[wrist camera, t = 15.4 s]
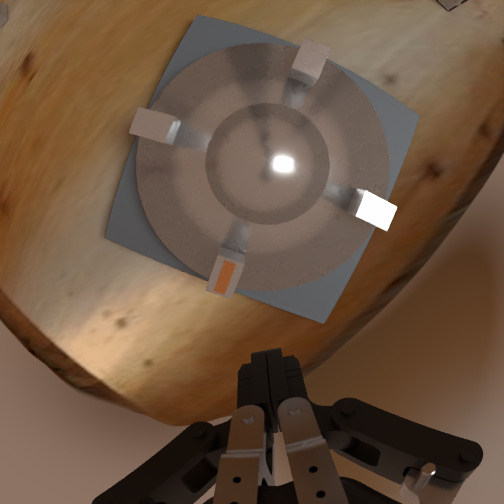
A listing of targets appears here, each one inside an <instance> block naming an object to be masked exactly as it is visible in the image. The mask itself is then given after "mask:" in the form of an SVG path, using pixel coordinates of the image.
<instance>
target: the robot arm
mask: <svg viewBox="0 0 504 504" xmlns="http://www.w3.org/2000/svg"><path fill="white" fill-rule="evenodd" d="M278 426H279V430H280V432H282V433H283V438H284V442H285V446H286V452H287V456H288V460H289V465H290V469H291V473H292V478H293V481H292V482H289V483H286V484H283V485H280V486H275V480H274V457H275V456H274V455H275V452H274V451H275V447H274V435H273V433H277V432H278ZM329 449H333V451H334V452H336V453H337V454H339V455H341V456H343V457H345V458H347V459H348V460H350V461H352V462H354V463H356V464H358V465H360V466H362V467H364V468H366V469H368V470H370V471H372V472H374V473H376V474H378V475H380V476H382V477H385V478H387V479H389V480H391V481H393V482H396V483H398V484H401V486H400V495H401V497H402V498H403V499H404V500H406V501H408V502H409V503H410V504H451V503H452V502H453V500H454V498H455V497H456V494H457V493H458V491H459V489H460V488H461V486H462V484H463V483H464V482H465V480H466V479H467V478H468V477H469V476H470V475H471V474H472V473H473V471H474V470H475V469H476V468H477V467H478V466H479V464H480V463H481V461H482V458H483V450H482V448H481V446H480V445H479V444H478V443H476V442H474V441H470V440H467V439H464V438H460V437H457V436H454V435H450V434H447V433H444V432H441V431H438V430H435V429H432V428H429V427H426V426H423V425H421V424H418V423H415V422H412V421H410V420H407V419H405V418H402V417H399V416H397V415H394V414H392V413H389V412H386V411H384V410H382V409H379V408H377V407H374V406H372V405H370V404H367V403H365V402H363V401H360V400H358V399H355V398H344V399H340V400H339V401H337V402H335V403H334V404H333V406H320V405H316V404H314V403H312V402H311V401H310V400H309V398H308V396H307V392H306V388H305V384H304V380H303V376H302V372H301V368H300V364H299V361H298V360H297V359H296V358H295V357H294V356H293V355H291V356H286V357H282V352H281V348H276V349H271V350H267V354H266V351H260V352H255V353H251V363H249V364H242V366H241V368H240V370H239V371H238V391H237V410H236V411H235V412H234V413H233V415H232V418H231V419H230V420H228V421H227V422H224V423H222V424H219V425H216V426H213V425H212V424H210V423H208V422H196V423H193V424H191V425H190V426H189V427H187V428H186V429H185V430H184V431H183V432H182V433H180V434H179V435H178V436H177V437H176V438H174V439H173V440H172V441H171V442H170V443H168V444H167V445H166V446H165V447H164V448H162V449H161V450H160V451H159V452H157V453H156V454H155V455H154V456H152V457H151V458H150V459H149V460H147V461H146V462H145V463H143V464H142V465H141V466H139V467H138V468H137V469H136V470H134V471H133V472H131V473H130V474H129V475H127V476H126V477H125V478H124V479H122V480H121V481H119V482H118V483H116V484H115V485H114V486H112V487H111V488H109V489H108V490H107V491H105V492H103V493H102V494H100V495H99V496H97V497H96V498H95V499H94V500H93V502H92V504H193V503H195V502H196V501H197V500H198V499H199V498H200V497H201V496H202V495H204V494H205V493H206V492H207V491H208V490H209V489H210V488H211V487H212V486H213V485H214V484H215V483H216V486H215V492H214V496H213V497H212V498H210V499H208V500H207V501H206V502H204V503H203V504H402V503H400V502H397V501H395V500H393V499H391V498H389V497H387V496H385V495H383V494H381V493H380V492H378V491H375V490H374V489H372V488H370V487H368V486H366V485H365V484H363V483H361V482H359V481H357V480H354V479H351V478H346V477H339V475H338V472H337V470H336V467H335V464H334V461H333V459H332V456H331V453H330V451H329Z"/></svg>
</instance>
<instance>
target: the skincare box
mask: <svg viewBox="0 0 504 504" xmlns="http://www.w3.org/2000/svg"><path fill="white" fill-rule="evenodd" d="M7 20H8V15H7V5H6V4H4V3H2V2H0V28H1V27H2V26H3V25H4V23H5V22H6V21H7Z"/></svg>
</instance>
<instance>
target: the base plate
mask: <svg viewBox="0 0 504 504" xmlns="http://www.w3.org/2000/svg"><path fill="white" fill-rule="evenodd" d="M252 43H272V44H281V45H287V46H291V47H296V48H299V49H300V47H299V46H297V45H295V44H292V43H290V42H287V41H285V40H282V39H279V38H277V37H274V36H271V35H268V34H266V33H263V32H260V31H257V30H254V29H250V28H247V27H244V26H241V25H237V24H234V23H230V22H226V21H223V20H219V19H214V18H210V17H206V16H201V15H197V16H196V18H195V19H194V21H193V22H192V24H191V26H190V27H189V29H188V31H187V32H186V34H185V36H184V37H183V39H182V41H181V42H180V44H179V46H178V48H177V50H176V51H175V53H174V55H173V57H172V59H171V61H170V62H169V64H168V66H167V68H166V70H165V72H164V74H163V76H162V78H161V80H160V82H159V84H158V86H157V88H156V91H155V93H154V95H153V97H152V99H151V101H150V104H149V106H148V108H147V109H149V110H150V108H151V107H152V105H153V104H154V102H155V100H156V99H157V97H158V96H159V94H160V93H161V92H162V91H163V89H164V88H165V87H166V86H167V85H168V84H169V82H170V81H171V80H172V79H174V78H175V77H176V76H177V75H178V74H179V73H180V72H181V71H182V70H184V69H185V68H187V67H188V66H190V65H191V64H192V63H194V62H195V61H197V60H199V59H201V58H203V57H205V56H207V55H209V54H211V53H213V52H216V51H219V50H222V49H225V48H228V47H232V46H237V45H243V44H252ZM326 60H327V61H329V62H330V63H332V64H333V65H335V66H336V67H338V68H339V69H341V70H342V71H343V72H344V73H345V74H346V75H347V76H349V77H350V78H351V79H352V80H353V81H354V82H355V83H356V84H357V85H358V87H359V88H360V89H361V90H362V91H363V92H364V94H365V95H366V97H367V98H368V100H369V101H370V103H371V104H372V106H373V107H374V109H375V111H376V113H377V115H378V117H379V119H380V122H381V125H382V127H383V130H384V133H385V136H386V141H387V146H388V152H389V166H390V171H389V184H388V189H387V194H386V199H385V201H388V198H389V196H390V194H391V191H392V189H393V186H394V184H395V182H396V179H397V177H398V174H399V172H400V169H401V167H402V164H403V162H404V159H405V156H406V154H407V151H408V148H409V146H410V143H411V140H412V137H413V134H414V132H415V129H416V126H417V123H418V120H419V117H420V115H418V114H417V113H415V112H414V111H413V110H411V109H410V108H409V107H407V106H406V105H404V104H403V103H401V102H400V101H399V100H397V99H396V98H394V97H393V96H391V95H390V94H388V93H386V92H385V91H383V90H382V89H380V88H379V87H377V86H375V85H374V84H372V83H370V82H369V81H367V80H365V79H364V78H362V77H360V76H358V75H357V74H355V73H353V72H351V71H349V70H347V69H346V68H344V67H342V66H340V65H338V64H336V63H334V62H332V61H330V60H328V59H326ZM139 137H140V136H137V135H136V137H135V140H134V143H133V145H132V148H131V151H130V153H129V156H128V159H127V162H126V165H125V168H124V171H123V174H122V177H121V180H120V183H119V186H118V190H117V193H116V196H115V200H114V203H113V207H112V210H111V214H110V218H109V222H108V226H107V230H106V234H105V238H106V239H108V240H111V241H113V242H115V243H117V244H120V245H122V246H124V247H127V248H129V249H131V250H133V251H136V252H138V253H140V254H143V255H145V256H147V257H150V258H152V259H154V260H157V261H159V262H162V263H164V264H166V265H169V266H171V267H174V268H176V269H178V270H181V271H183V272H186V273H188V274H191V275H193V276H196V277H198V278H201V279H203V280H206V281H209V279H208V278H206V277H204V276H202V275H201V274H199V273H197V272H195V271H194V270H192V269H191V268H189V267H188V266H187V265H185V264H184V263H183V262H181V261H180V260H179V259H178V258H177V257H176V256H175V255H174V254H173V253H172V252H171V251H170V250H169V249H168V248H167V247H166V246H165V245H164V243H163V242H162V241H161V239H160V238H159V237H158V235H157V234H156V232H155V231H154V229H153V227H152V225H151V224H150V222H149V220H148V218H147V215H146V213H145V211H144V208H143V206H142V202H141V198H140V195H139V191H138V185H137V176H136V155H137V148H138V142H139ZM375 227H376V226H374V228H373V230H372V231H371V233H370V234H369V236H368V237H367V239H366V240H365V242H364V243H363V244H362V245H361V247H360V248H359V249H358V250H357V251H356V252H355V253H354V254H353V255H352V256H351V257H350V258H349V259H348V260H347V261H345V262H344V263H343V264H342V265H340V266H339V267H338V268H336V269H335V270H333V271H332V272H330V273H329V274H327V275H325V276H323V277H321V278H319V279H317V280H315V281H312V282H309V283H307V284H304V285H301V286H297V287H293V288H289V289H284V290H274V291H252V290H245V289H238V288H235V291H234V292H237V293H239V294H242V295H245V296H247V297H250V298H253V299H255V300H258V301H261V302H263V303H266V304H269V305H272V306H274V307H277V308H280V309H283V310H286V311H288V312H291V313H294V314H297V315H300V316H303V317H305V318H308V319H311V320H314V321H317V322H320V323H323V324H324V323H325V321H326V320H327V318H328V316H329V314H330V313H331V311H332V309H333V308H334V306H335V304H336V302H337V301H338V299H339V297H340V295H341V293H342V292H343V290H344V288H345V286H346V284H347V282H348V281H349V279H350V277H351V275H352V273H353V271H354V269H355V267H356V265H357V264H358V262H359V260H360V258H361V256H362V254H363V252H364V250H365V248H366V246H367V244H368V242H369V240H370V238H371V235H372V233H373V231H374V229H375Z"/></svg>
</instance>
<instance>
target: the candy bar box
mask: <svg viewBox="0 0 504 504" xmlns="http://www.w3.org/2000/svg"><path fill="white" fill-rule="evenodd" d="M437 1H438V2H439V3H440V4H441V5H442V6H443V7H444V8H445V9H446V10H448V11H449V12H450V11H451V10H453V9H454V8H456V7H458V6H459V5H461V4H463V3H464V2H466V1H468V0H437Z"/></svg>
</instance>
